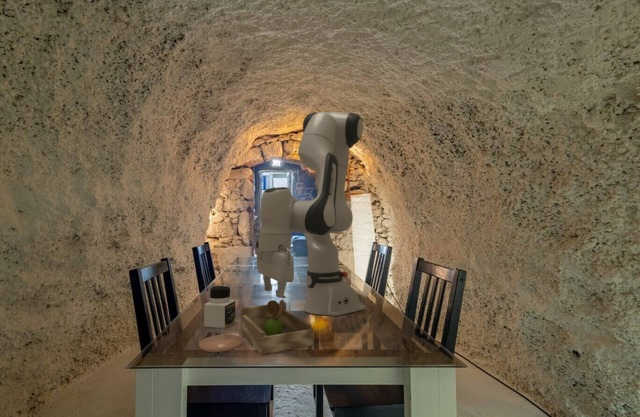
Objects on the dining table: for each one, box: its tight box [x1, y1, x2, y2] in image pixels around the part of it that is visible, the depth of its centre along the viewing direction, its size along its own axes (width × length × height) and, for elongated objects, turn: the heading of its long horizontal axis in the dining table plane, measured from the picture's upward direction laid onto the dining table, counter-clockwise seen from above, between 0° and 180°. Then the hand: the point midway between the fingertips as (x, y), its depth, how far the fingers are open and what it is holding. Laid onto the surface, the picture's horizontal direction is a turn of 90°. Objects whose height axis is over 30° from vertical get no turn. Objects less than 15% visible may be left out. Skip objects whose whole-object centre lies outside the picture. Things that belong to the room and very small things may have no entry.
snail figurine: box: [263, 295, 286, 336], centre depth 99 cm, size 5×6×12 cm
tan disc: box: [198, 334, 243, 353], centre depth 94 cm, size 11×11×1 cm
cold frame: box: [240, 302, 314, 356], centre depth 99 cm, size 14×20×7 cm
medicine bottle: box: [203, 284, 236, 329], centre depth 112 cm, size 7×7×12 cm
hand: (273, 294), depth 99 cm, fingers open, 8 cm apart
